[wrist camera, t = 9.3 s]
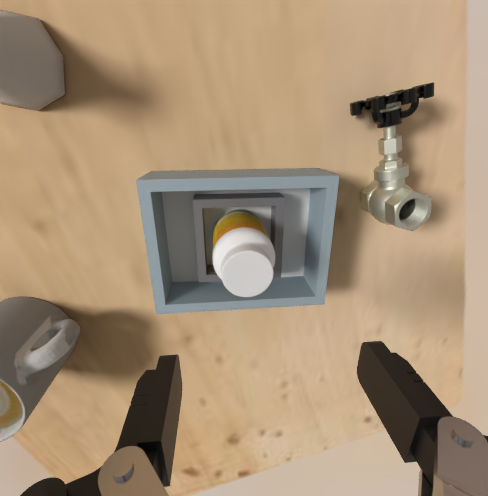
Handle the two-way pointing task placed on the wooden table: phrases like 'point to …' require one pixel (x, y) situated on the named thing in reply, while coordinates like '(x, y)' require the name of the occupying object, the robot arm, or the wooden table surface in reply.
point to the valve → (394, 162)
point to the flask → (28, 63)
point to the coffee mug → (30, 356)
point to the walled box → (202, 226)
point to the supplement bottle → (243, 253)
